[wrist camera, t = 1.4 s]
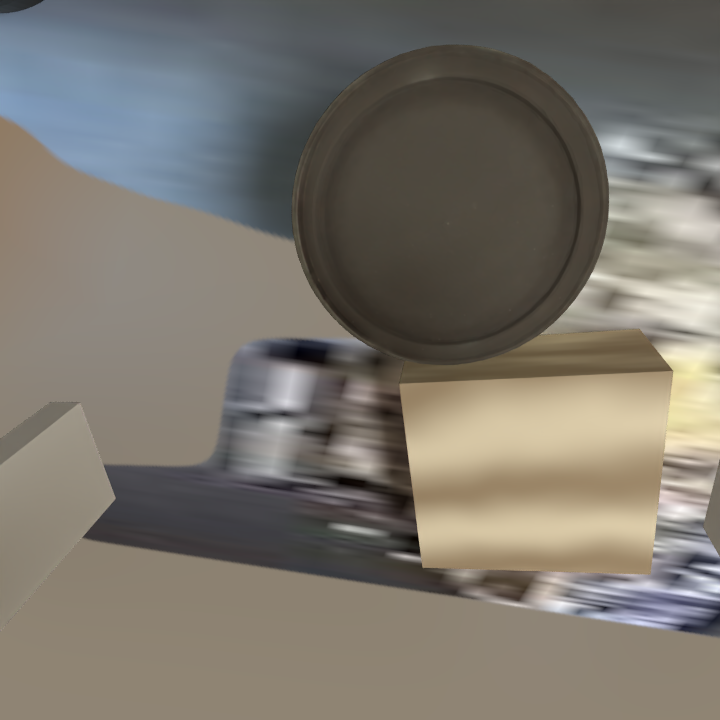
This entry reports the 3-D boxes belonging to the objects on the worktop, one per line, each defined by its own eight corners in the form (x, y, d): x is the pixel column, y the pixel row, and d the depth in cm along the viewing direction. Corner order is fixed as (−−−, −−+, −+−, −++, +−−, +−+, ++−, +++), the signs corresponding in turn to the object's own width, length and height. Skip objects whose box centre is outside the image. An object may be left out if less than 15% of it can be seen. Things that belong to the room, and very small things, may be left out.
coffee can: (442, 27, 27) (425, -45, 14) (587, 161, 28) (687, 204, 16) (326, 190, 31) (235, 244, 19) (456, 299, 33) (452, 416, 20)
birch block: (408, 341, 35) (398, 383, 29) (637, 326, 32) (673, 370, 26) (427, 507, 40) (422, 567, 35) (623, 508, 37) (650, 574, 32)
